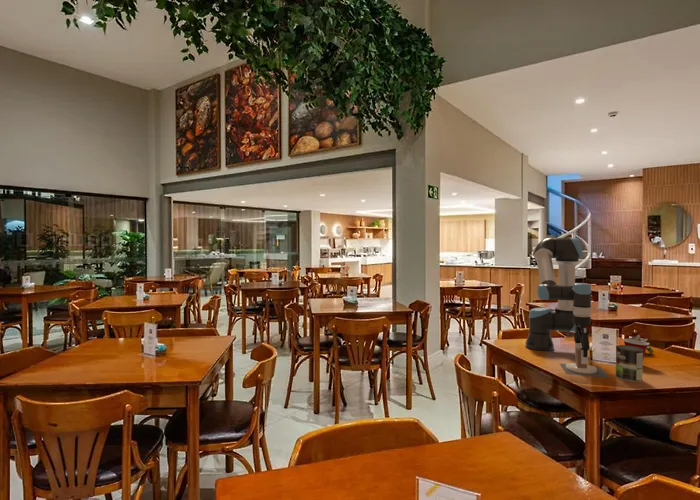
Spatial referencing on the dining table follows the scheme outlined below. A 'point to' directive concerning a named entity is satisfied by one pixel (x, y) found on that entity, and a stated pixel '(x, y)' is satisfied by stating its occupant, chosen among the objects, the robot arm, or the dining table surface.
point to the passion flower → (643, 341)
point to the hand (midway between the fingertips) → (581, 360)
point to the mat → (599, 374)
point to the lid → (580, 365)
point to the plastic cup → (636, 344)
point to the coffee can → (629, 363)
